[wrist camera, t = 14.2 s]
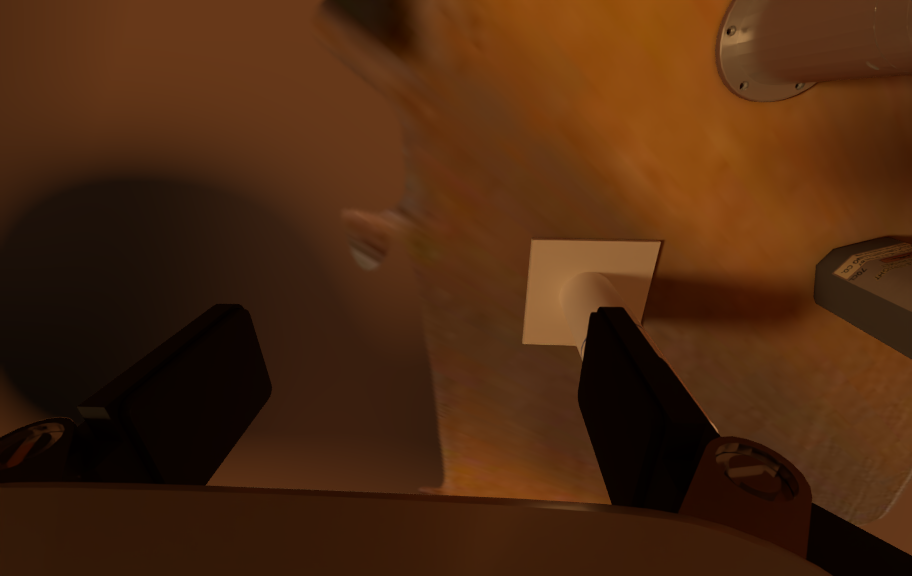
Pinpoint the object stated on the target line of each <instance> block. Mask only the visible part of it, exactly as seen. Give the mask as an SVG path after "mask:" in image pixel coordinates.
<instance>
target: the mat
mask: <svg viewBox="0 0 912 576" xmlns="http://www.w3.org/2000/svg"><path fill="white" fill-rule="evenodd" d="M660 244H661V242H660V241H659V240H626V239H568V238H532V239H531V250H530V261H529V272H528V283H527V294H526V306H525V317H524V328H523V339H522V342H523V344H543V345H572V346H577V345H576V343H575V340H574V338H573V335H572V332H571V330H570V327H569V325H568V322H567V320H566V317H565V315H564V312H563V310H562V307H561V305H560V300H559V294H560V291H561V288H562V287H563V285H564V284H565V282H566V281H567V280H569V279H570V278H571V277H573V276H574V275H577V274H579V273H583V272H596V273H599V274H602V275H603V276H605V277H606V278H607V279H608V280H609V281H610V282H611V284H612V285H613V286H614V288H615V289H616V291H617V292H618V293H619V295H620V296H621V297H622V299H623V300H624V302H625V303H626V304H627V306H628V307H629V308H630V310H631V311H632V313H633V314H634V315H635V317H636V318H637V319H638V321H639V322H640V324H641V320H642V316H643V312H644V308H645V304H646V300H647V296H648V292H649V288H650V284H651V280H652V276H653V272H654V268H655V264H656V260H657V256H658V252H659V248H660Z"/></svg>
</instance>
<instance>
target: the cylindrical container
mask: <svg viewBox="0 0 912 576" xmlns="http://www.w3.org/2000/svg"><path fill="white" fill-rule="evenodd" d="M559 300H560V305H561V307H562V310H563V312H564V315H565V317H566V320H567V322H568V325H569V327H570V330H571V332H572V335H573V338H574V340H575V343H576V345H577V348H578V350H579V353H580V355H581V358H582V361H583V356H584V349H585V343H586V336H587V330H588V323H589V317H590V314H591V312H597V310H598V308H599V307H623V308H624V309H625V310H626V312H627V313H628V314H629V316H630V317H631V319H632V320H633V321H634V323H635V324H636V326H637V327H638V328H639V330H640V331H641V332H642V334H643V335H644V337H645V338H646V339H647V341H648V342H649V344H650V345H651V346H652V348H653V349H654V351H655V352H656V353H657V355H658V356H659V357H660V358H662V359H663V360H664V361H665V362H666V363H667V364H668V365H669V367H670V368H671V370H672V371H673V372H674V374H675V375H676V376H677V378H678V379H679V381H680V382H681V383H682V385H683V386H684V387H685V389H686V390H687V391H688V393H689V394H690V396H691V397H692V398H693V400H694V401H695V402H696V404H697V405H698V406H699V408H700V409H701V411H702V412H703V413H704V415H705V416H706V417H707V419H708V420H709V422H710V423H711V424H712V426H713V427H714V428H715V430H716V431H717V432H718V430H717V429H716V427H715V425H714V424H713V423H712V421H711V420H710V419H709V417H708V416H707V414H706V413H705V412H704V410H703V409H702V408H701V406H700V405H699V403H698V402H697V401H696V399H695V398H694V397H693V395H692V394H691V392H690V391H689V390H688V388H687V387H686V386H685V384H684V383H683V381H682V380H681V379H680V377H679V376H678V374H677V373H676V372H675V370H674V369H673V368H672V366H671V365H670V363H669V362H668V361H667V359H666V358H665V357H664V355H663V354H662V353H661V351H660V350H659V348H658V347H657V346H656V344H655V343H654V342H653V340H652V339H651V337H650V336H649V335H648V333H647V332H646V331H645V329H644V328H643V326H642V325H641V324H640V322H639V321H638V319H637V318H636V317H635V315H634V314H633V313H632V311H631V310H630V308H629V307H628V306H627V304H626V303H625V302H624V300H623V299H622V297H621V296H620V295H619V293H618V292H617V291H616V289H615V288H614V286H613V285H612V284H611V282H610V281H609V280H608V279H607V278H606V277H605V276H603V275H602V274H599V273H596V272H583V273H579V274H577V275H574V276H573V277H571V278H570V279H569V280H567V281H566V282H565V284H564V285H563V287H562V288H561V291H560V294H559Z"/></svg>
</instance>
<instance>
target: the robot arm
mask: <svg viewBox="0 0 912 576" xmlns="http://www.w3.org/2000/svg"><path fill="white" fill-rule="evenodd" d="M727 30H728V34H727ZM715 55H716V65H717V69H718V73H719V76H720V77H721V79H722V81H723V83H724V85H725V86H726V87H727V88H728V89H729V90H730V91H731V92H732V93H733V94H735V95H736V96H738V97H739V98H742V99H745V100H748V101H754V102H774V101H779V100H784V99H787V98H790V97H792V96H795V95H797V94H799V93H801V92H803V91H805V90H807V89H808V88H810V87H812V86H813V85H814V84H815V83H817V82H821V81H834V80H847V79H860V78H873V77H886V76H899V75H912V0H732V2H731V3H730V5H729V7H728V8H727V11H726V13H725V15H724V17H723V19H722V21H721V24H720V28H719V31H718V35H717V40H716V48H715ZM740 84H741V87H740ZM271 391H272V386H271V382H270V378H269V375H268V372H267V369H266V365H265V362H264V359H263V355H262V352H261V349H260V346H259V342H258V339H257V336H256V332H255V329H254V326H253V323H252V319H251V316H250V314H249V312H248V311H247V310H246V309H244V308H243V307H242V306H241V305H239V304H216V305H214V306H213V307H211V308H210V309H208V310H207V311H206V312H204V313H203V314H202V315H200V316H199V317H198V318H196V319H195V320H194V321H192V322H191V323H189V324H188V325H187V326H185V327H184V328H183V329H181V330H180V331H179V332H177V333H176V334H175V335H173V336H172V337H170V338H169V339H168V340H166V341H165V342H164V343H162V344H161V345H160V346H158V347H157V348H156V349H154V350H153V351H152V352H150V353H149V354H147V355H146V356H145V357H144V358H142V359H141V360H139V361H138V362H137V363H135V364H134V365H133V366H131V367H130V368H129V369H127V370H126V371H124V372H123V373H122V374H120V375H119V376H118V377H116V378H115V379H114V380H112V381H111V382H110V383H108V384H107V385H105V386H104V387H103V388H101V389H100V390H99V391H97V392H96V393H95V394H93V395H92V396H91V397H89V398H88V399H86V400H85V401H84V402H82V403H81V404H80V405H78V406H77V408H78V409H79V411H80V413H81V414H82V416H83V418H84V419H85V421H84V422H83V423H82V424H80V425H79V426H78V427H77V426H76V424H75V423H74V421H72V420H71V419H69V418H63V417H57V418H48V419H44V420H41V421H37V422H33V423H31V424H28V425H25V426H23V427H20V428H18V429H15V430H14V431H11V432H9V433H8V434H6V435H4V436H2V437H0V576H912V556H911V555H909V554H907V553H906V552H903V551H902V550H900V549H898V548H896V547H894V546H892V545H891V544H889V543H887V542H885V541H883V540H881V539H879V538H878V537H875V536H874V535H872V534H870V533H868V532H866V531H864V530H863V529H861V528H859V527H857V526H855V525H853V524H851V523H849V522H848V521H846V520H844V519H842V518H840V517H838V516H836V515H834V514H833V513H831V512H829V511H827V510H825V509H823V508H821V507H820V506H818V505H816V504H814V503H812V493H811V488H810V485H809V484H808V482H807V480H806V479H805V477H804V475H803V474H802V473H801V472H800V471H799V470H798V469H797V468H796V467H795V466H794V465H793V464H792V463H791V462H790V461H788V460H787V459H786V458H784V457H783V456H781V455H780V454H779V453H777V452H775V451H774V450H772V449H770V448H768V447H766V446H764V445H762V444H759V443H757V442H754V441H751V440H748V439H744V438H739V437H733V436H729V437H720V435H719V434H718V432H717V431H716V430H715V428H714V427H713V426H712V424H711V423H710V422H709V420H708V419H707V417H706V416H705V415H704V413H703V412H702V411H701V409H700V408H699V406H698V405H697V404H696V402H695V401H694V400H693V398H692V397H691V396H690V394H689V393H688V391H687V390H686V389H685V387H684V386H683V385H682V383H681V382H680V381H679V379H678V378H677V376H676V375H675V374H674V372H673V371H672V370H671V368H670V367H669V365H668V364H667V363H666V362H665V361H664V360H663V359H662V358H660V357H659V356H658V355H657V353H656V352H655V351H654V349H653V348H652V346H651V345H650V344H649V342H648V341H647V339H646V338H645V337H644V335H643V334H642V332H641V331H640V330H639V328H638V327H637V326H636V324H635V323H634V321H633V320H632V319H631V317H630V316H629V314H628V313H627V312H626V310H625V309H624V308H623V307H599V308H598V310H597V312H591V314H590V317H589V323H588V330H587V336H586V343H585V349H584V356H583V362H582V369H581V375H580V382H579V389H578V402H579V407H580V410H581V413H582V416H583V419H584V422H585V425H586V428H587V431H588V434H589V437H590V440H591V443H592V446H593V449H594V452H595V455H596V458H597V461H598V464H599V467H600V470H601V473H602V476H603V479H604V482H605V485H606V488H607V491H608V494H609V497H610V500H611V503H612V505H608V504H595V503H579V502H563V501H547V500H531V499H514V498H492V497H471V496H449V495H427V494H405V493H382V492H356V491H334V490H310V489H308V490H307V489H284V488H259V487H258V488H257V487H231V486H205V485H206V484H207V483H208V481H209V480H210V478H211V477H212V476H213V474H214V473H215V471H216V470H217V469H218V468H219V466H220V465H221V463H222V462H223V461H224V459H225V458H226V457H227V455H228V454H229V452H230V451H231V450H232V448H233V447H234V446H235V444H236V443H237V441H238V440H239V439H240V437H241V436H242V435H243V433H244V432H245V430H246V429H247V428H248V426H249V425H250V424H251V422H252V421H253V419H254V418H255V417H256V415H257V414H258V413H259V411H260V410H261V409H262V407H263V406H264V405H265V403H266V402H267V400H268V399H269V397H270V395H271Z"/></svg>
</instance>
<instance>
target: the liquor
mask: <svg viewBox="0 0 912 576" xmlns="http://www.w3.org/2000/svg"><path fill="white" fill-rule="evenodd" d="M814 300H815V303H816V304H818V305H820V306H822V307H823V308H825V309H827V310H828V311H830V312H832V313H834V314H835V315H837V316H839V317H840V318H842V319H844V320H845V321H847V322H849V323H851V324H852V325H854V326H856V327H857V328H859V329H861V330H863V331H864V332H866V333H868V334H869V335H871V336H873V337H874V338H876V339H878V340H880V341H881V342H883V343H885V344H886V345H888V346H890V347H892V348H893V349H895V350H897V351H898V352H900V353H902V354H903V355H905V356H907V357H909V358H910V359H912V245H911V244H908V243H905V242H902V241H898V240H895V239H892V238H889V237H884V238H877V239H873V240H869V241H865V242H861V243H857V244H853V245H848V246H844V247H840V248H836V249H833V250H832V251H831V252H830V253H829V254H827V255H826V256H825V257H824V258H823V259H822V260H821V261H820V262H819V263H818V264H817V265H816V273H815V286H814Z"/></svg>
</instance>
